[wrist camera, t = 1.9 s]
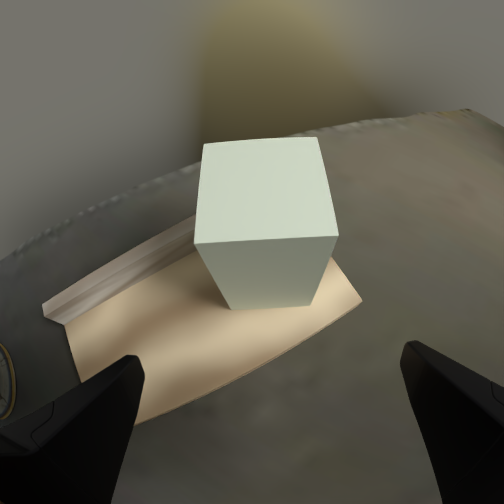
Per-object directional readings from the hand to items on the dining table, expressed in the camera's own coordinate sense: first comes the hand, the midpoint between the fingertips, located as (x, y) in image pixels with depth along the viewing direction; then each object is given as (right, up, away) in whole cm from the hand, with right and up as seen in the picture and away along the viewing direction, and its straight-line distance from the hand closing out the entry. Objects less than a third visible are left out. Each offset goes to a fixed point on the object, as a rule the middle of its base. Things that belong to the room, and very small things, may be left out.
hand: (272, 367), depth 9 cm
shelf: (-5, -2, +15) cm, 16 cm away
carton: (+1, +2, +14) cm, 15 cm away
